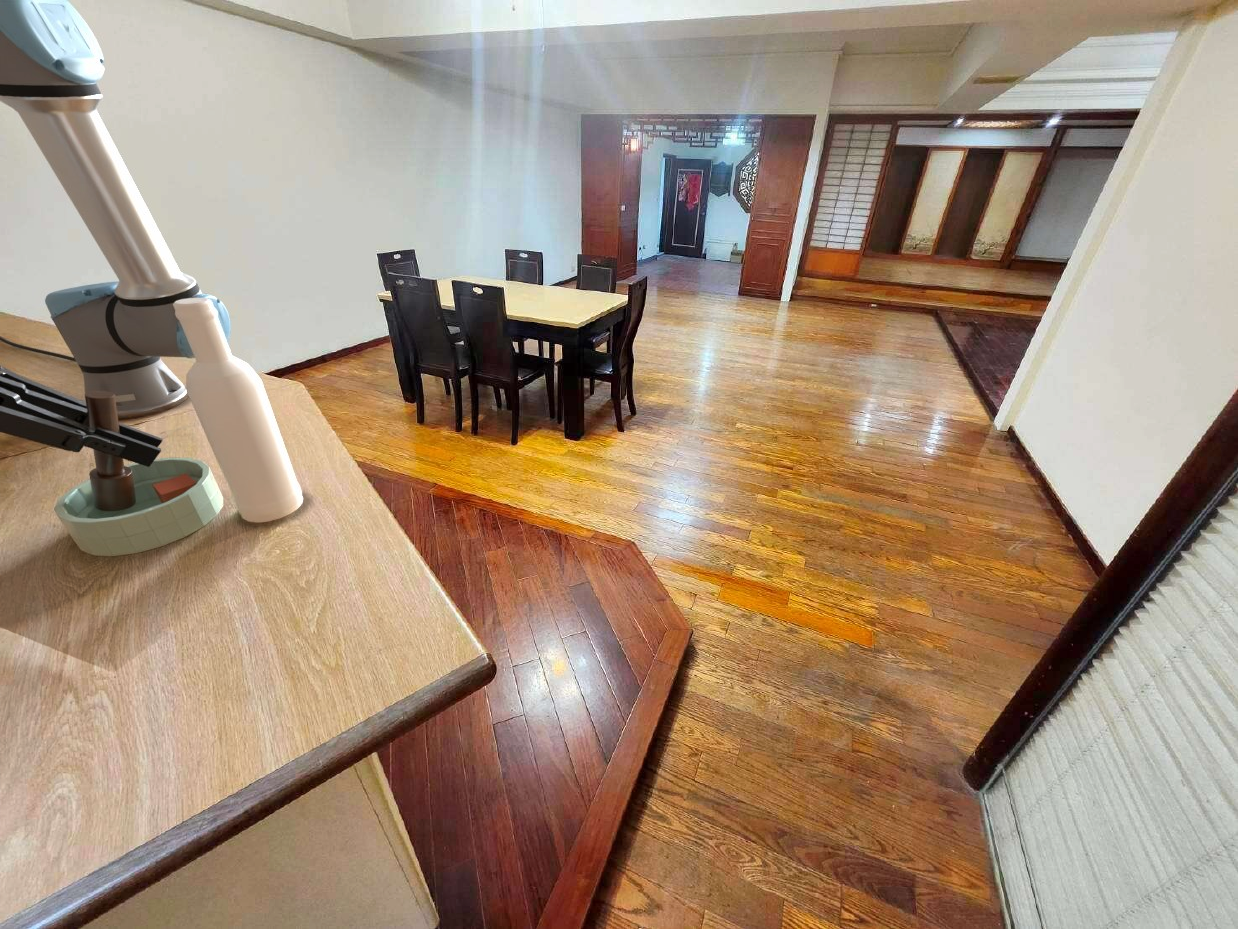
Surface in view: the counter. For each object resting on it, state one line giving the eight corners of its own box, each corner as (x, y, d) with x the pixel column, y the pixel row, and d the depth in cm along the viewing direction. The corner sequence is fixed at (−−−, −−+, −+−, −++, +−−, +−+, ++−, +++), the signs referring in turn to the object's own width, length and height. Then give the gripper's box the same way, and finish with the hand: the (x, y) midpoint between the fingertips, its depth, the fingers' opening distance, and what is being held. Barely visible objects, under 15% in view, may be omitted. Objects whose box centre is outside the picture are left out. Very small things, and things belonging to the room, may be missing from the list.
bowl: (67, 525, 68) (43, 489, 65) (202, 479, 78) (187, 446, 75) (96, 577, 60) (70, 539, 57) (242, 518, 71) (227, 483, 67)
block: (164, 507, 71) (151, 484, 69) (197, 495, 74) (186, 473, 72) (173, 518, 69) (160, 495, 67) (207, 505, 72) (196, 482, 70)
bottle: (311, 510, 73) (239, 303, 57) (249, 533, 68) (152, 312, 52) (295, 488, 77) (225, 290, 62) (236, 507, 73) (143, 298, 57)
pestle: (87, 503, 66) (68, 391, 60) (124, 493, 70) (110, 386, 64) (106, 514, 65) (88, 402, 59) (143, 504, 69) (130, 397, 63)
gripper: (-116, 361, 56) (144, 450, 73) (-193, 412, 45) (134, 502, 62) (-77, 308, 56) (174, 409, 73) (-144, 346, 45) (169, 455, 62)
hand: (155, 452), depth 67 cm, fingers closed on pestle, 3 cm apart
